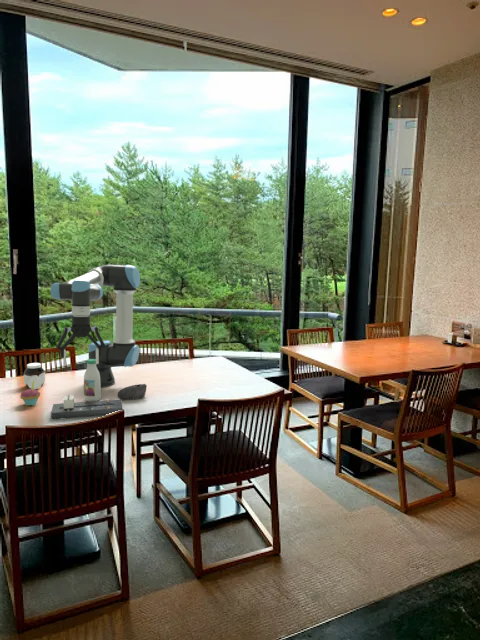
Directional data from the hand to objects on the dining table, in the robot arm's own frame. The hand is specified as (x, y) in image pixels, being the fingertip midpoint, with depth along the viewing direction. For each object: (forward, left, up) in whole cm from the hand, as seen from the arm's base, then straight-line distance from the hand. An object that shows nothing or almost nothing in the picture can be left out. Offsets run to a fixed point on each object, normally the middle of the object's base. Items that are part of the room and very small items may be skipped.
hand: (81, 364), depth 209 cm
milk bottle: (-22, +4, -24) cm, 33 cm away
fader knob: (-4, -6, -21) cm, 22 cm away
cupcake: (-21, -24, -24) cm, 40 cm away
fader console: (-4, +2, -24) cm, 24 cm away
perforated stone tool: (-19, +23, -24) cm, 38 cm away
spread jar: (-50, -25, -24) cm, 61 cm away
